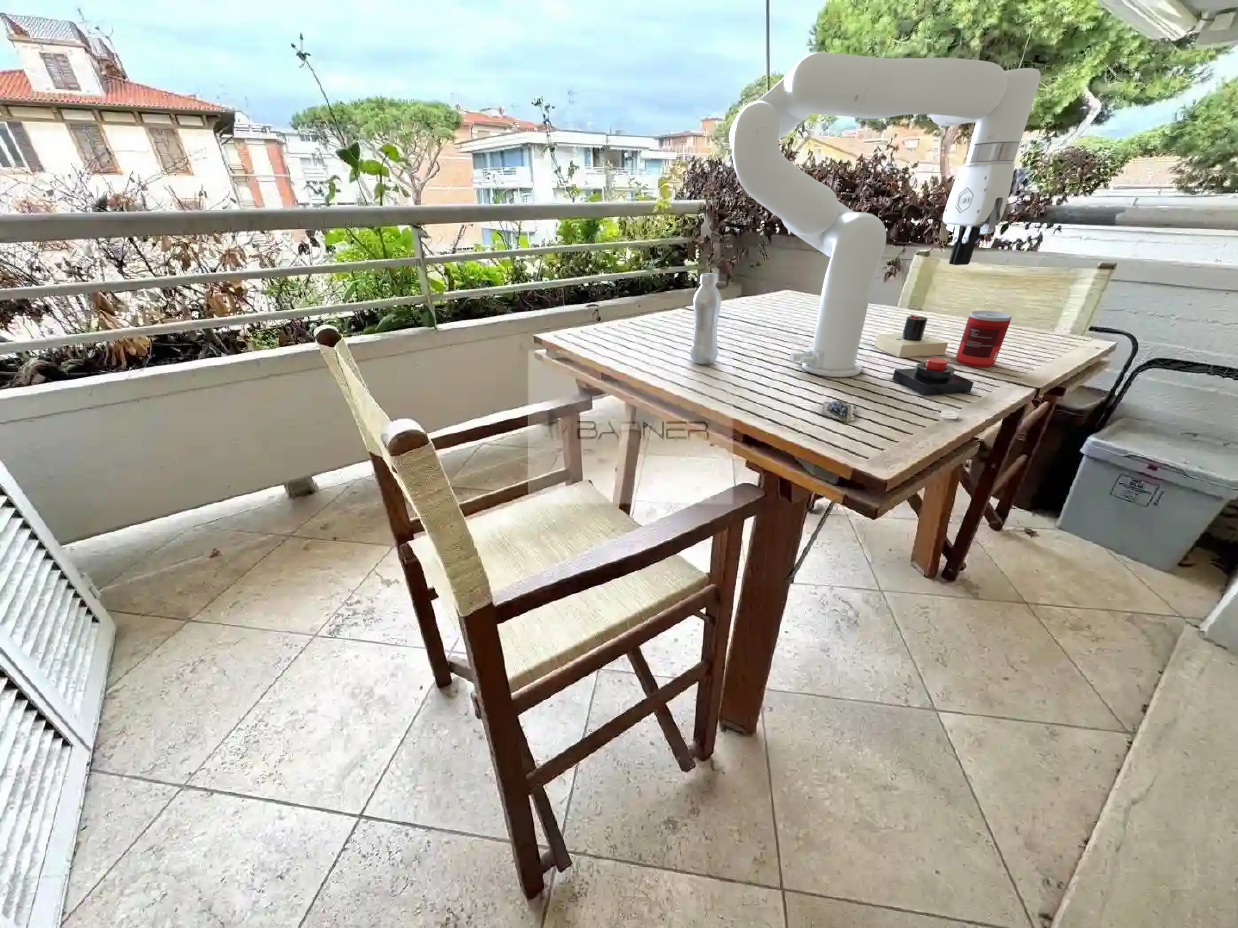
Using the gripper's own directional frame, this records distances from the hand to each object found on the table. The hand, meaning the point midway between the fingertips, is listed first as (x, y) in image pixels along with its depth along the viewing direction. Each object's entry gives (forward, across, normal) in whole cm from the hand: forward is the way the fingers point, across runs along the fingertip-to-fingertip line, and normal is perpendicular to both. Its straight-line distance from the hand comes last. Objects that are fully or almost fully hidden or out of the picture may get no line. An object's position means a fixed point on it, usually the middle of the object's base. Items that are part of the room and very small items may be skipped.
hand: (958, 264), depth 97 cm
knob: (+19, -15, +6) cm, 25 cm away
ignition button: (+19, +9, -6) cm, 21 cm away
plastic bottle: (+22, -15, -47) cm, 54 cm away
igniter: (+22, +9, -6) cm, 25 cm away
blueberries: (+22, +19, -31) cm, 43 cm away
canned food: (+22, -3, +14) cm, 27 cm away
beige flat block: (+22, -15, +6) cm, 27 cm away
